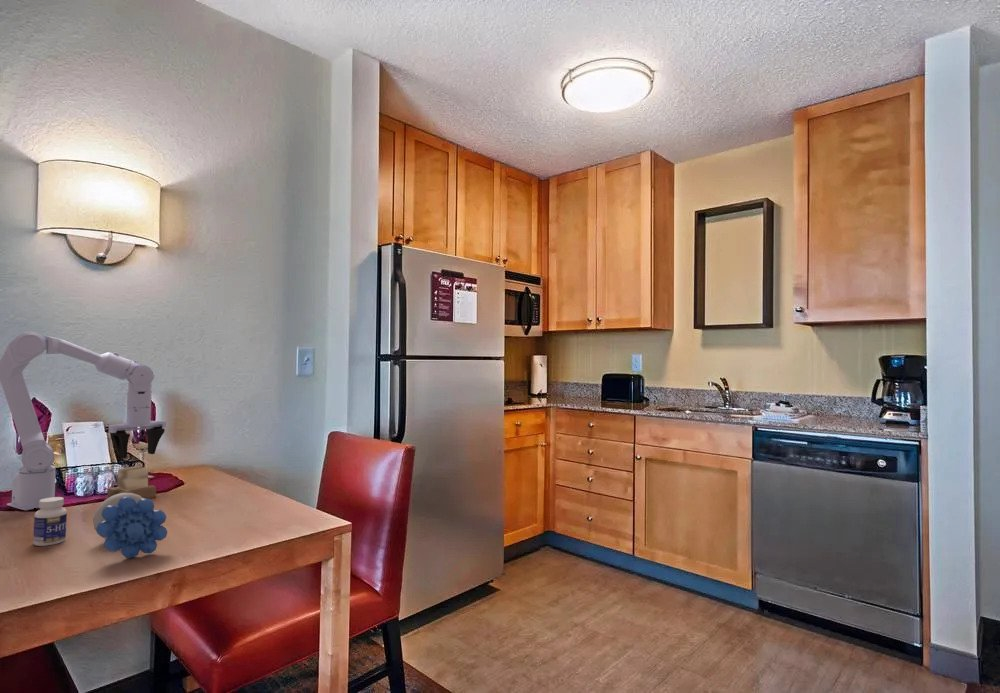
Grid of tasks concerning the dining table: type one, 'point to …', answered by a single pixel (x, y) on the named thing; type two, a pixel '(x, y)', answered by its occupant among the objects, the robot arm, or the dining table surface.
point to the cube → (132, 478)
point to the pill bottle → (50, 522)
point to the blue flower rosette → (132, 527)
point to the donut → (113, 502)
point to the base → (135, 492)
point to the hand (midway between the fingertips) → (137, 455)
